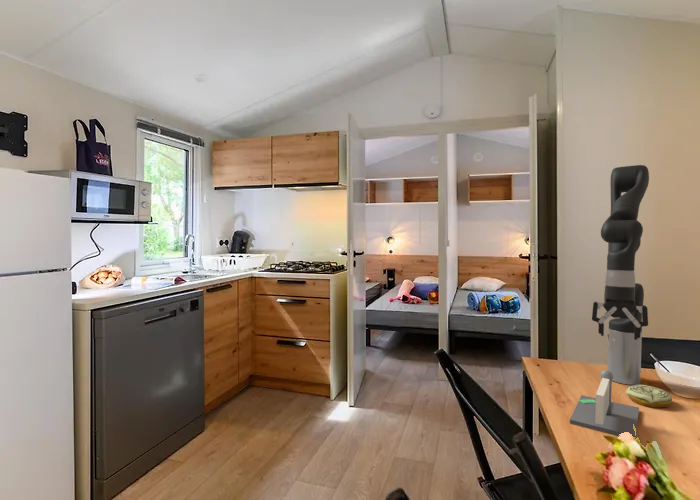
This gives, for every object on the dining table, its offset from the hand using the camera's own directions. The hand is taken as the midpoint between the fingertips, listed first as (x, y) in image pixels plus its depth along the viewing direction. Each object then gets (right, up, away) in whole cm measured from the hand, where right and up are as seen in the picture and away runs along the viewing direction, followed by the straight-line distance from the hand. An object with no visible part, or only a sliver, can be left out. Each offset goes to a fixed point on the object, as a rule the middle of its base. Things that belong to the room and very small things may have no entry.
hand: (618, 337), depth 122 cm
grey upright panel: (-16, -17, -17) cm, 29 cm away
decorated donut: (+6, -18, -4) cm, 20 cm away
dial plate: (-14, -18, -15) cm, 27 cm away
